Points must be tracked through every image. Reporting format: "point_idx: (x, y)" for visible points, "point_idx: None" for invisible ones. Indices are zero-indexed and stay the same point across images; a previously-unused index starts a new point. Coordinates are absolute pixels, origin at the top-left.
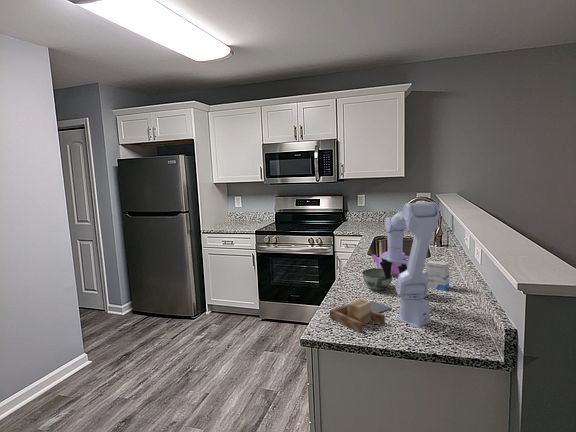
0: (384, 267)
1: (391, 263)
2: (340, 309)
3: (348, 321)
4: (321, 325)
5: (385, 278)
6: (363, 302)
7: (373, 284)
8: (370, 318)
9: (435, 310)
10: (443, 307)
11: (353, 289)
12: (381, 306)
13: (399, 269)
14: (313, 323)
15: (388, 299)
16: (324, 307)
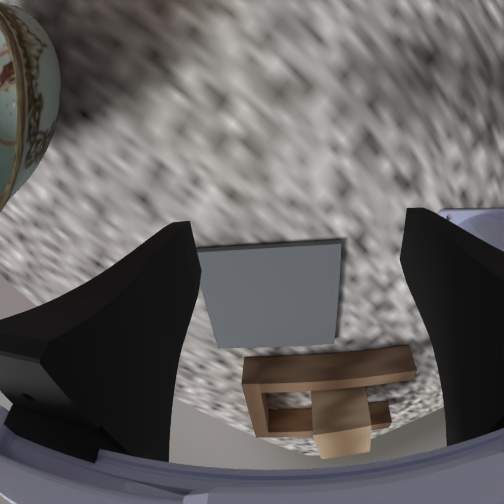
0: (168, 413)
1: (89, 343)
2: (266, 422)
3: None
4: None
5: (32, 107)
6: (351, 437)
7: (34, 170)
8: None
9: (497, 77)
10: (493, 8)
11: (3, 208)
12: (292, 269)
13: (458, 425)
14: (262, 438)
15: (202, 140)
16: None
